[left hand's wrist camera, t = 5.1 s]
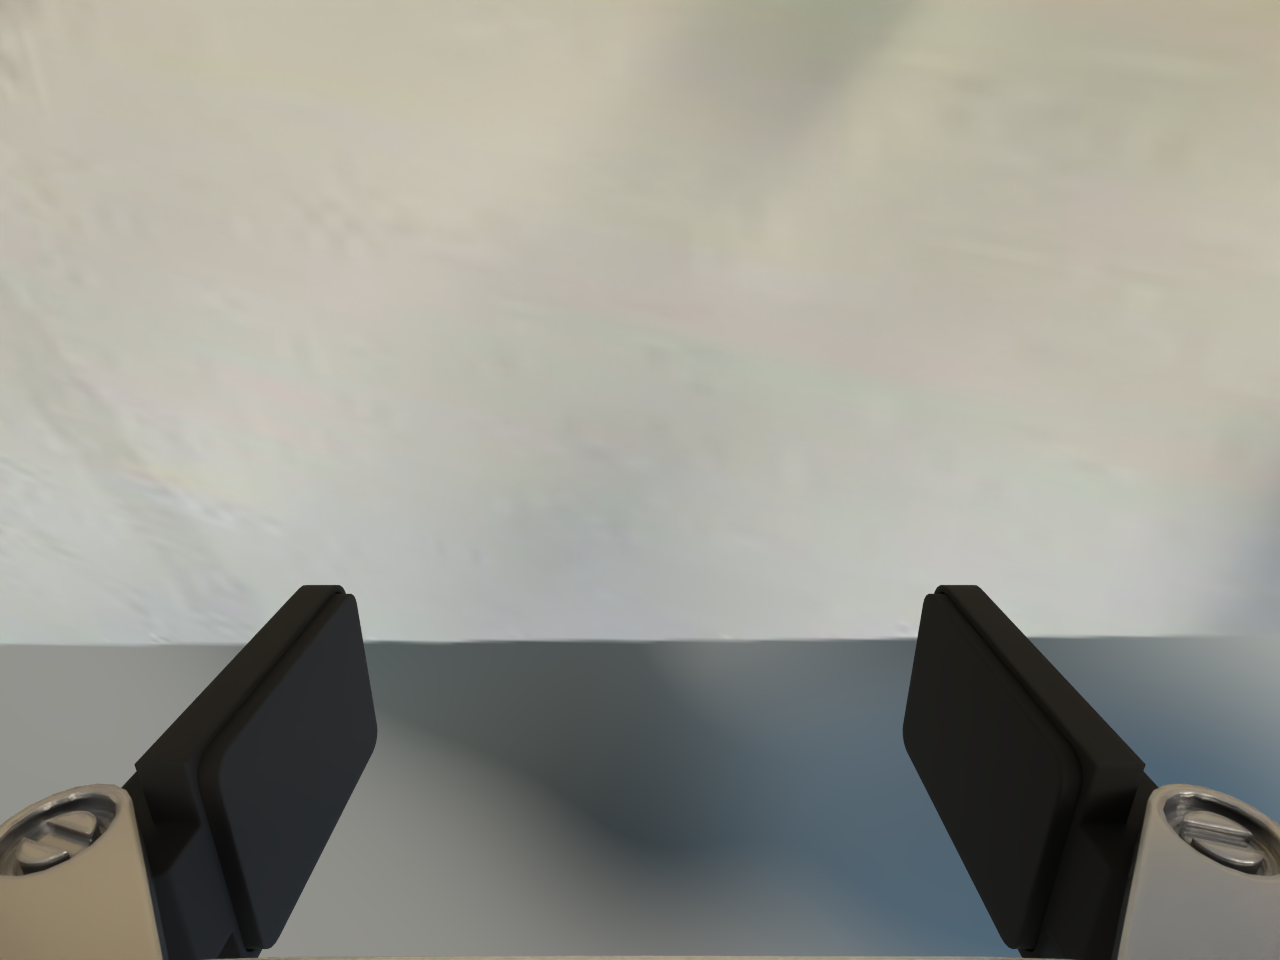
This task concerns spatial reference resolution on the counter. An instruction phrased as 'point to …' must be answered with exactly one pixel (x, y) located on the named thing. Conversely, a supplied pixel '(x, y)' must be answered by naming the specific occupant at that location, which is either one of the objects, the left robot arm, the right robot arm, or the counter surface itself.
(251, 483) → the counter surface
